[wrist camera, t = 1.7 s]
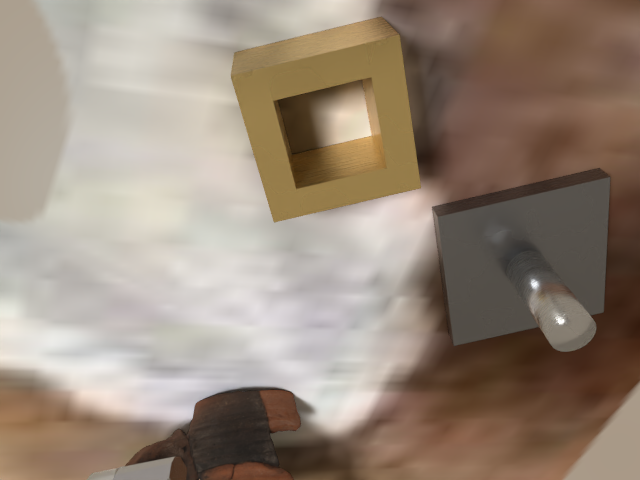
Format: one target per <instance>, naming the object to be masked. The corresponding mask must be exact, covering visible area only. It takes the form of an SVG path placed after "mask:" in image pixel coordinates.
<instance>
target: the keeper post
mask: <svg viewBox="0 0 640 480" xmlns="http://www.w3.org/2000/svg"><path fill="white" fill-rule="evenodd" d="M609 193H610V176H608V175H607V174H606V173H605V172H604V171H602V170H601V169H600V168H598V169H594V170H589V171H585V172H581V173H576V174H572V175H568V176H563V177H559V178H555V179H550V180H546V181H542V182H538V183H533V184H529V185H525V186H520V187H516V188H512V189H507V190H503V191H499V192H495V193H490V194H486V195H482V196H477V197H473V198H469V199H464V200H460V201H456V202H451V203H447V204H443V205H439V206H434V207H432V210H433V218H434V226H435V233H436V241H437V249H438V256H439V264H440V272H441V279H442V287H443V294H444V302H445V310H446V317H447V325H448V333H449V336H450V338H451V340H452V343H453V345H454V346H456V345H460V344H465V343H469V342H474V341H478V340H483V339H487V338H492V337H496V336H501V335H505V334H509V333H514V332H518V331H523V330H527V329H532V328H536V327H540V329H541V330H542V332H543V333H544V335H545V337H546V338H547V340H548V341H549V343H550V344H551V346H552V347H553V348H554V349H556V350H558V351H563V352H569V351H574V350H577V349H580V348H582V347H583V346H585V345H586V344H587V343H589V342H590V341H591V339H592V338H593V337H594V335H595V332H596V323H595V321H594V320H593V318H592V317H591V316H590V315H594V314H599V313H603V312H604V296H605V275H606V255H607V234H608V214H609Z"/></svg>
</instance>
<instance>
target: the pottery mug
mask: <svg viewBox="0 0 640 480" xmlns="http://www.w3.org/2000/svg"><path fill="white" fill-rule="evenodd" d="M300 426H301V421H300V416H299V414H298V412H297V408H296V404H295V401H294V397H293V394H292V393H291V392H289V391H283V390H260V391H256V390H253V391H245V392H242V391H235V392H232V393H222V394H218V395H214V396H212V397H209V398H206V399H203V400H201V401H199V402H197V403H196V405H195V409H194V414H193V419H192V421H191V424H190V429H189V431H188V434H187V436H186V434H185V432H183V431H182V430H181V429H177V430H176V431H175V432H174V433H173V434H172V436H171V437H170V438H168V439H166V440H163V441H160V442H157V443H154V444H152V445H149V446H146V447H144V448H143V449H141V450H140V451H139V452H137V453H136V454H135V455H134V456H133V457H132V459H131V460H130V461H129V462H128V463H127V464H126V465H125V466H129V465H134V464H140V463H145V462H150V461H155V460H160V459H165V458H170V457H181V459H182V461H183V462H184V464H185V466H186V467H187V475H186V480H199V478H200V480H294V479H293V477H292V476H291V474H290V473H289V472H287V471H285V470H284V469H281V468H279V467H278V466H279V461H278V458H277V455H276V452H275V449H274V445H273V441H272V439H271V436H270V433H275V432H277V431H288V430H292V431H296V430H298V429H299V428H300Z"/></svg>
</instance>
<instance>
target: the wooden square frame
mask: <svg viewBox="0 0 640 480" xmlns="http://www.w3.org/2000/svg"><path fill="white" fill-rule="evenodd" d="M231 79H232V82H233V86H234V89H235V92H236V96H237V99H238V102H239V106H240V109H241V113H242V116H243V119H244V123H245V126H246V129H247V133H248V136H249V140H250V143H251V146H252V150H253V153H254V156H255V160H256V163H257V167H258V170H259V173H260V177H261V180H262V183H263V187H264V190H265V194H266V197H267V200H268V204H269V207H270V210H271V214H272V217H273V221H274V222H278V221H282V220H286V219H291V218H295V217H299V216H303V215H308V214H312V213H316V212H320V211H325V210H329V209H333V208H338V207H342V206H346V205H350V204H355V203H359V202H363V201H368V200H372V199H376V198H380V197H385V196H389V195H393V194H398V193H402V192H406V191H410V190H415V189H419V188H421V185H420V177H419V170H418V163H417V156H416V149H415V142H414V134H413V127H412V120H411V113H410V106H409V99H408V91H407V84H406V77H405V70H404V63H403V56H402V48H401V41H400V35H399V34H398V33H397V32H396V31H395V30H394V29H393V28H392V27H391V26H390V25H389V24H388V23H387V22H386V21H385V20H384V19H383V18H382V17H378V18H374V19H370V20H366V21H362V22H357V23H353V24H349V25H345V26H341V27H337V28H333V29H329V30H325V31H321V32H317V33H312V34H308V35H304V36H300V37H296V38H292V39H288V40H284V41H280V42H276V43H271V44H267V45H263V46H259V47H255V48H251V49H247V50H243V51H239V52H235V53H234V58H233V65H232V71H231ZM357 80H362V83H363V89H364V94H365V100H366V105H367V111H368V117H369V122H370V128H371V133H372V136H369V137H365V138H361V139H356V140H352V141H348V142H344V143H340V144H335V145H331V146H327V147H323V148H318V149H314V150H310V151H306V152H302V153H297V154H293V155H292V153H291V149H290V145H289V141H288V137H287V133H286V130H285V126H284V122H283V118H282V114H281V110H280V106H279V103H278V100H279V99H283V98H287V97H291V96H295V95H299V94H303V93H308V92H312V91H316V90H320V89H324V88H328V87H332V86H337V85H341V84H345V83H349V82H353V81H357Z"/></svg>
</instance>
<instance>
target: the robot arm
mask: <svg viewBox="0 0 640 480" xmlns="http://www.w3.org/2000/svg"><path fill="white" fill-rule="evenodd" d="M186 475H187V467H186V466H185V464H184V462H183V461H182V459H181V457H170V458H165V459H160V460H155V461H150V462H145V463H140V464H134V465H129V466H124V467H120V468H116V469H111V470H106V471H101V472H96V473H92V474H91V475H90V476H89V478H88V479H87V480H186Z"/></svg>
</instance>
